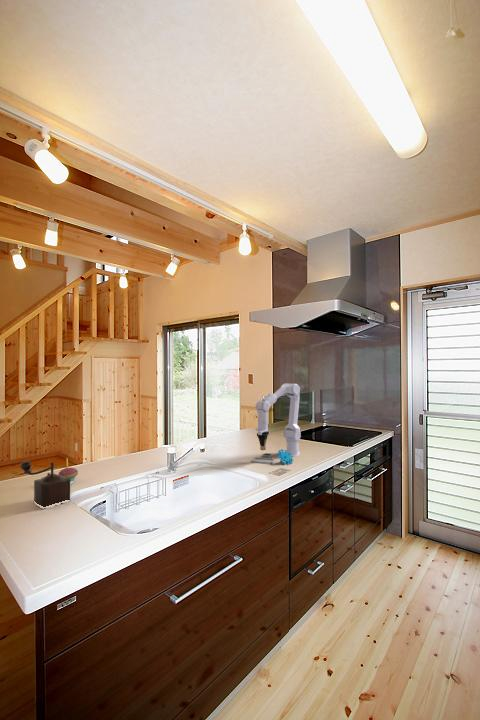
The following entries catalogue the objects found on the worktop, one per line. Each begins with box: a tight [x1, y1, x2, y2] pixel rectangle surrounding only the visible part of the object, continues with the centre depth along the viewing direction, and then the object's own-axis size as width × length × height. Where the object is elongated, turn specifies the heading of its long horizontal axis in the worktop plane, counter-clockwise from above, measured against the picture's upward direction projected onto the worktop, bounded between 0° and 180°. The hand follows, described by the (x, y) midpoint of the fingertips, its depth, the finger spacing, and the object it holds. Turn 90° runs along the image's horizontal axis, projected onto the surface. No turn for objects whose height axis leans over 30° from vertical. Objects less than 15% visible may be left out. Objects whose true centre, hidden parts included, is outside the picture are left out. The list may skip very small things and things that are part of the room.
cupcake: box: [58, 458, 79, 482], centre depth 164 cm, size 9×8×12 cm
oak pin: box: [259, 439, 267, 451], centre depth 197 cm, size 3×3×6 cm
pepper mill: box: [20, 460, 71, 507], centre depth 139 cm, size 16×11×18 cm
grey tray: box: [250, 456, 276, 465], centre depth 197 cm, size 8×12×1 cm
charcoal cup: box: [261, 452, 274, 458], centre depth 205 cm, size 6×6×2 cm
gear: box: [276, 448, 295, 466], centre depth 194 cm, size 11×6×10 cm
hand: (263, 445), depth 197 cm, fingers closed on oak pin, 3 cm apart
